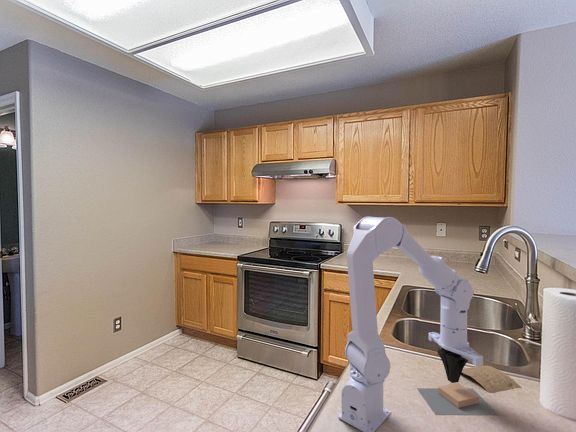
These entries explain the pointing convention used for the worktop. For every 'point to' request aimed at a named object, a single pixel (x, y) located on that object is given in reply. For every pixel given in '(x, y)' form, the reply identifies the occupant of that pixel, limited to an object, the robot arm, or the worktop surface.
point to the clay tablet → (491, 378)
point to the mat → (447, 408)
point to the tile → (458, 395)
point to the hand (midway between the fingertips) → (453, 381)
